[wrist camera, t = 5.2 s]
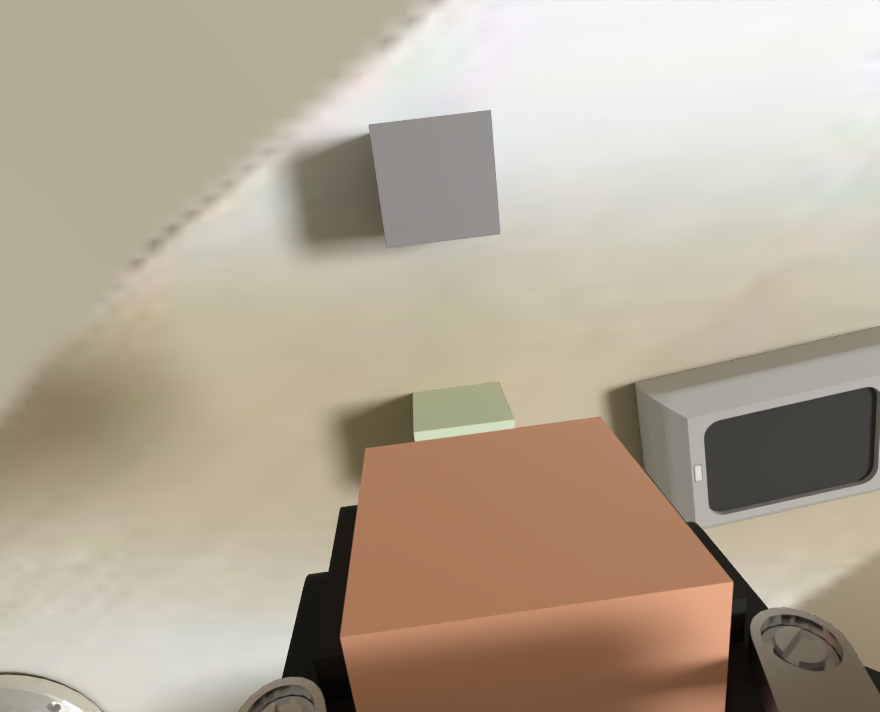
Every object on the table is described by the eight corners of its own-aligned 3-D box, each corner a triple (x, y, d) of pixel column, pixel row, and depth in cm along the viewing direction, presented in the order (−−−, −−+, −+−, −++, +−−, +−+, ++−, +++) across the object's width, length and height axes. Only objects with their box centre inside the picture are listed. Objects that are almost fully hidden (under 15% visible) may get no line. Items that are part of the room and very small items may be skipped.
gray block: (485, 222, 29) (500, 234, 24) (390, 234, 29) (386, 248, 24) (476, 119, 27) (490, 109, 23) (375, 131, 27) (368, 124, 23)
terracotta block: (605, 605, 13) (715, 843, 9) (398, 634, 13) (396, 891, 9) (600, 416, 12) (734, 582, 7) (365, 448, 12) (339, 637, 7)
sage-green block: (505, 457, 34) (521, 505, 29) (423, 468, 34) (426, 518, 29) (498, 381, 32) (514, 419, 27) (412, 392, 32) (413, 432, 27)
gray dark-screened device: (928, 494, 32) (672, 550, 32) (877, 461, 36) (647, 512, 36) (942, 341, 29) (658, 405, 29) (884, 322, 32) (631, 379, 33)
